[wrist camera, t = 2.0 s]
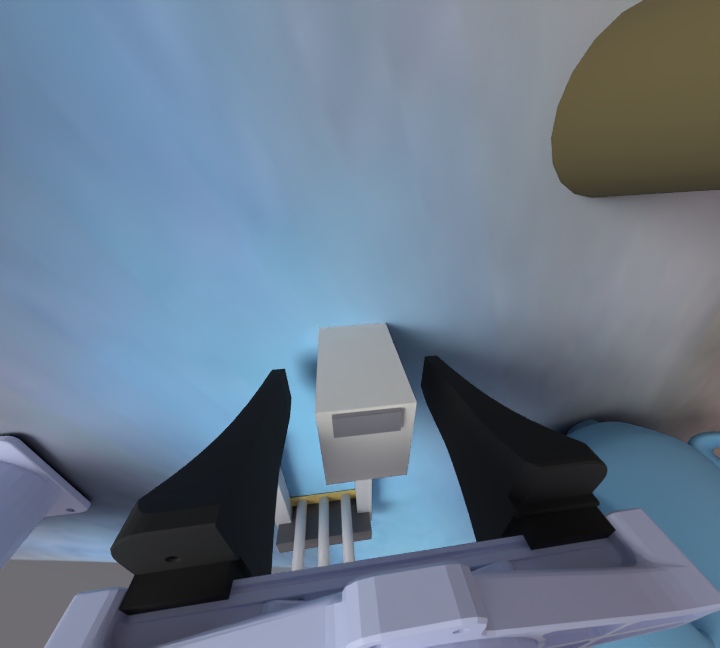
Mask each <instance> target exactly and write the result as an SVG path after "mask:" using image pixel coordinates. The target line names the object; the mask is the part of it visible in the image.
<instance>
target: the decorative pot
mask: <svg viewBox="0 0 720 648" xmlns="http://www.w3.org/2000/svg"><path fill="white" fill-rule="evenodd" d="M566 436H568V437H571V438H573V439H576V440H578V441H581V442H583V443H586V444H587V445H588V446H589V447H590V448H591V449H592V451H593V452H594V453H595V454H596V455H597V456H598V457H599V458H600V459H601V460H602V461H603V462H604V463H605V464H606V466H607V468H608V469H607V475H606V477H605V478H604V480H603V481H602V482H601V483H600V484H599V486H598V487H597V488H596V489H595V490H594V491H593V494H594V496H595V497H596V498H597V499H598V500H599V502H600V505H599V506H597V507H598V509H599V510H600V511H601V512H602V513H603V515H605V514H607V513H610V512H613V511H619V510H625V509H632V508H641V509H642V510H643V511H644V512H645V513H646V514H647V515H648V516H649V517H650V518H651V519H652V520H653V521H654V523H655V524H656V525H657V526H658V527H659V528H660V529H661V530H662V531H663V532H664V533H665V534H666V535H667V536H668V537H669V539H670V540H671V541H672V542H673V543H674V544H675V545H676V546H677V547H678V548H679V549H680V550H681V551H682V552H683V554H684V555H685V556H686V557H687V558H688V559H689V560H690V561H691V562H692V563H693V564H694V565H695V566H696V567H697V568H698V570H699V571H700V572H701V573H702V574H703V575H704V576H705V577H706V578H707V579H708V580H709V581H710V582H711V583H712V585H713V586H714V587H715V588H716V589H717V590H718V591H719V592H720V458H718V457H717V456H716V455H714V453H713V451H712V450H713V449H715V448H718V447H720V432H704V433H700V434H697V435H695V436H693V437H692V438H691V439H690V440H689V442H688V444H687V443H685V442H683V441H681V440H679V439H677V438H675V437H672V436H669V435H666V434H663V433H660V432H657V431H654V430H651V429H647V428H644V427H640V426H636V425H632V424H628V423H624V422H616V421H613V422H601V423H598V421H596V420H586V421H583V422H580V423H578V424H576V425H575V426H573V427H572V428H571V429H570V430H569V431H568V433H567V435H566ZM592 648H720V610H719V611H716V612H714V613H711V614H709V615H706V616H704V617H701V618H699V619H696V620H694V621H691V622H689V623H687V624H684V625H682V626H679V627H676V628H672V629H667V630H662V631H657V632H652V633H648V634H643V635H639V636H634V637H630V638H625V639H621V640H617V641H613V642H609V643H604V644H600V645H596V646H592Z"/></svg>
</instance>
